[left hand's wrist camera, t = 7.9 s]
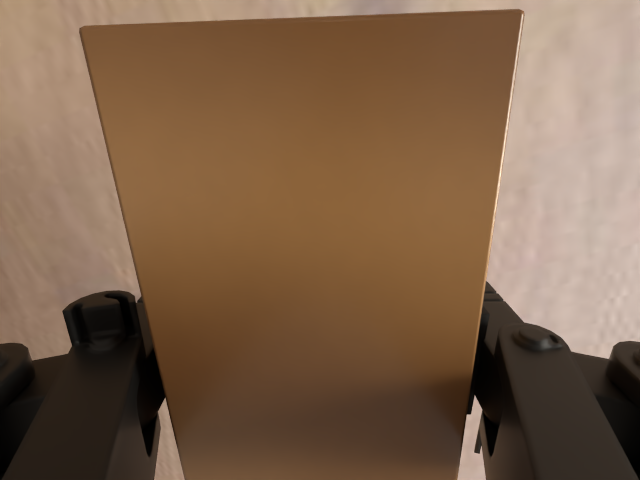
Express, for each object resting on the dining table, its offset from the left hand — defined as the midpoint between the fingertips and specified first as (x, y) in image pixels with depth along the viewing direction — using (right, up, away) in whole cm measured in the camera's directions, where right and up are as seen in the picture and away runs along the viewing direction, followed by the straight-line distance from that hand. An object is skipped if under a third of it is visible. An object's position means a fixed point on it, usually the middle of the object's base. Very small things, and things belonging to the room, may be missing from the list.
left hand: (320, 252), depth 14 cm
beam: (+1, -20, +8) cm, 21 cm away
